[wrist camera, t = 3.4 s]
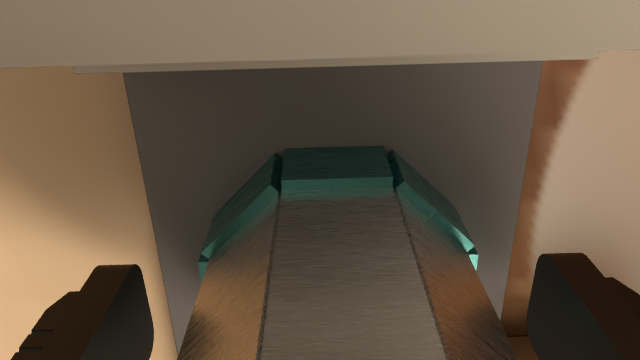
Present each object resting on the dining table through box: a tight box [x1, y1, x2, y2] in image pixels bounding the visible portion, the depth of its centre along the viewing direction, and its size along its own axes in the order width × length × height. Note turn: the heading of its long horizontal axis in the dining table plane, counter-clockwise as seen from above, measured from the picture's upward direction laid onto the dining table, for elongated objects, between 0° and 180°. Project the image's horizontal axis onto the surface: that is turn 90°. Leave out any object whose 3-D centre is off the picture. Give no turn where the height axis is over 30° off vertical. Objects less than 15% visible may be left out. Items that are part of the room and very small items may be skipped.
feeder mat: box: [0, 0, 640, 355], centre depth 9 cm, size 14×8×5 cm, turn 1°
